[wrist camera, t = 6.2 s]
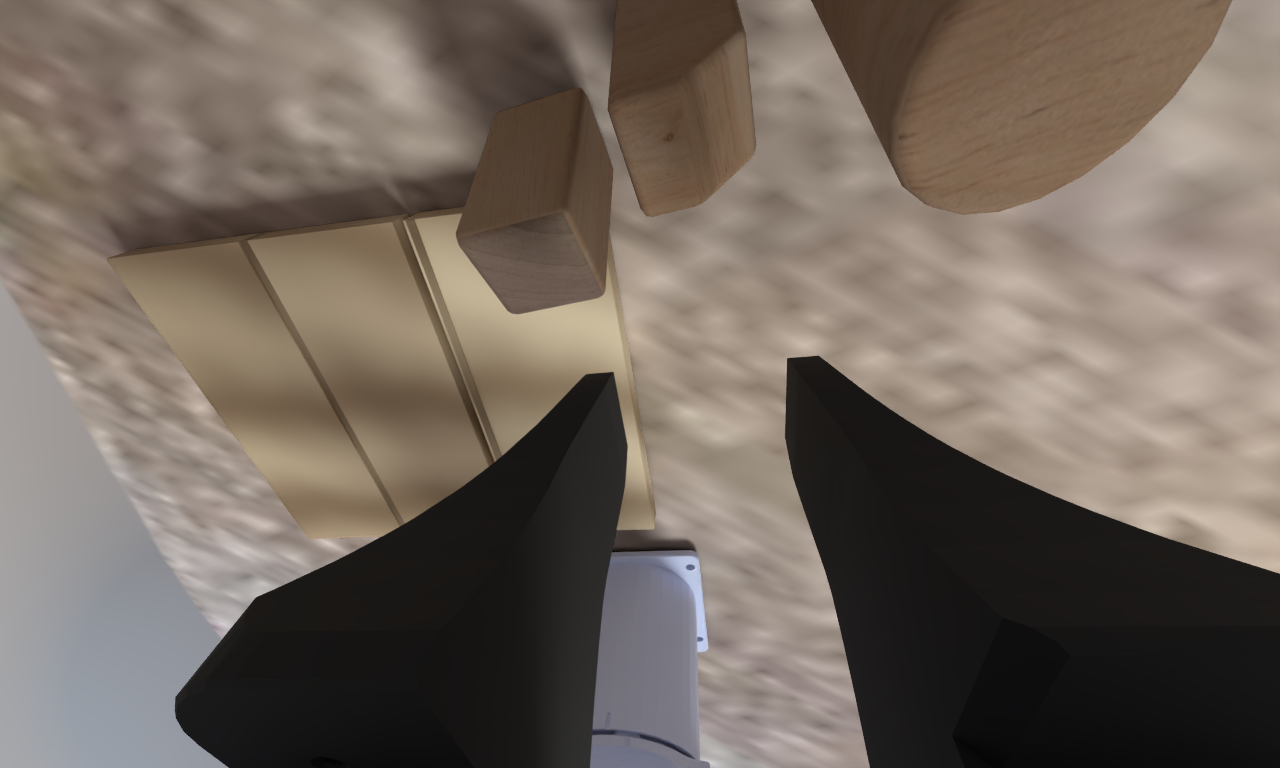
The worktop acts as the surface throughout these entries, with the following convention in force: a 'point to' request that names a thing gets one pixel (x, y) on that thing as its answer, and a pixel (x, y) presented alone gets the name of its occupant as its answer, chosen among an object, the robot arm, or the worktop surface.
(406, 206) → the worktop surface
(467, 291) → the oak plank
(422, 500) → the floor panel
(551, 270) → the wooden block set
